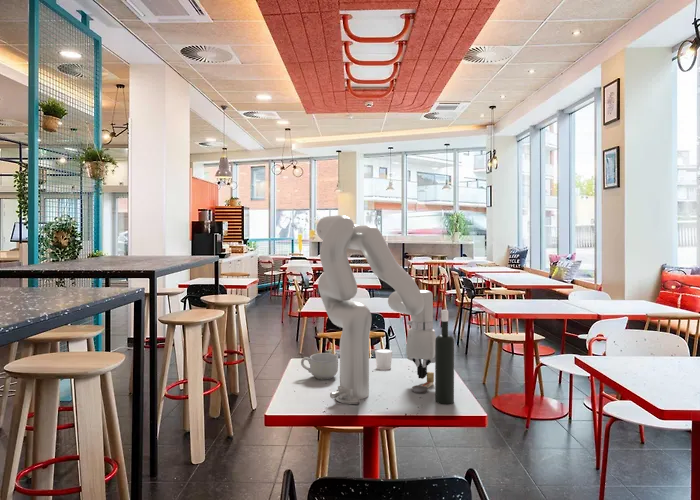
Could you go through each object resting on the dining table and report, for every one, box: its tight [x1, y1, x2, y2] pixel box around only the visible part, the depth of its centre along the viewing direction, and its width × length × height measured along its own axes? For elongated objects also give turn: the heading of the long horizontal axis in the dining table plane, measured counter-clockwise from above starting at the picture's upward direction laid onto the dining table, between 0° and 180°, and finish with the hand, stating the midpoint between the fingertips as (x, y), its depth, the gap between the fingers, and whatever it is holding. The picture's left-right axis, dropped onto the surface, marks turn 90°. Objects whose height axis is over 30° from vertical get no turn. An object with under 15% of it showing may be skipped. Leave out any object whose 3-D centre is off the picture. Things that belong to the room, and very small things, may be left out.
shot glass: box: [374, 348, 393, 371], centre depth 203 cm, size 7×7×7 cm
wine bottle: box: [434, 309, 455, 406], centre depth 158 cm, size 6×6×30 cm
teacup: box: [300, 352, 339, 381], centre depth 190 cm, size 14×11×8 cm
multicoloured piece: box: [411, 371, 435, 395], centre depth 172 cm, size 13×5×4 cm, turn 148°
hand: (422, 377), depth 178 cm, fingers closed
